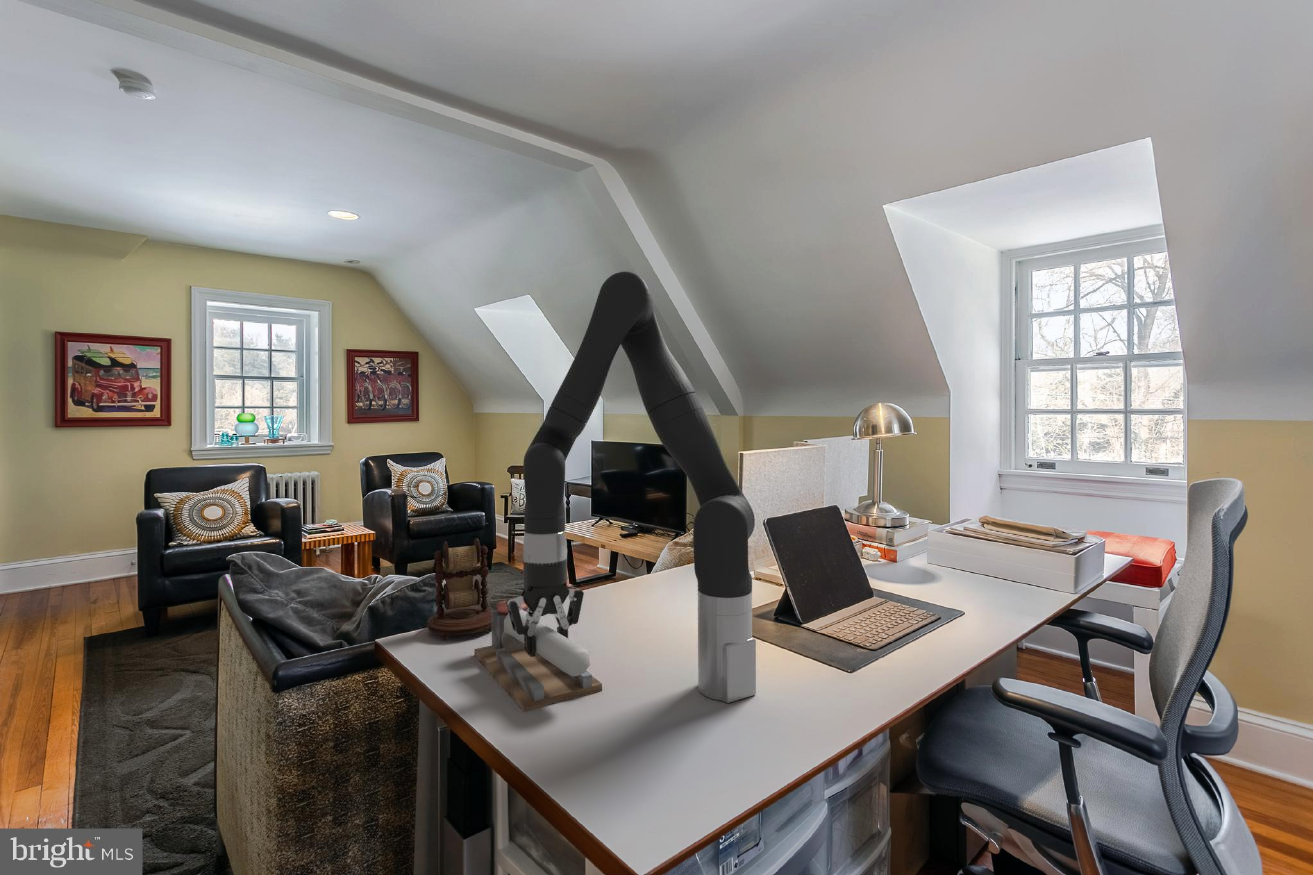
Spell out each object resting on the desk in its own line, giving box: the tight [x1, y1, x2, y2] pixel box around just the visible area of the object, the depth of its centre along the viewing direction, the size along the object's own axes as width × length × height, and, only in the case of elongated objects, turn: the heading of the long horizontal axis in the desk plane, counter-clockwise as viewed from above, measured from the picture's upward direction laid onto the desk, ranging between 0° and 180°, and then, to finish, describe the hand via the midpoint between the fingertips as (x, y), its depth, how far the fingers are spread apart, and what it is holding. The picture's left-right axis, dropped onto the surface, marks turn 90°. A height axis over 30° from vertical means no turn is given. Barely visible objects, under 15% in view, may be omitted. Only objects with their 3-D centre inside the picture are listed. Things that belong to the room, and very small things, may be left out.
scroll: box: [426, 537, 492, 642], centre depth 141 cm, size 15×15×20 cm
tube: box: [504, 609, 591, 677], centre depth 113 cm, size 5×5×25 cm
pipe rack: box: [473, 599, 603, 712], centre depth 118 cm, size 28×14×10 cm, turn 32°
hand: (546, 651), depth 113 cm, fingers closed on tube, 5 cm apart
